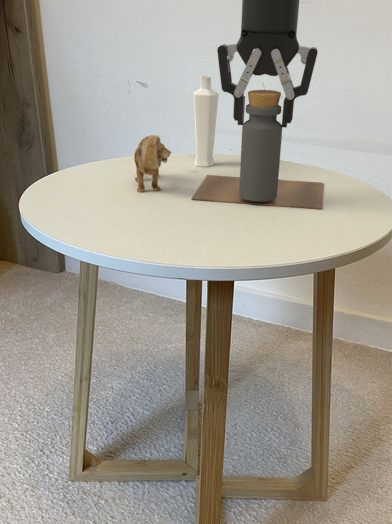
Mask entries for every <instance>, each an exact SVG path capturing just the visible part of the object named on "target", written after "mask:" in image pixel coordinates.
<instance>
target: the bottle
mask: <svg viewBox="0 0 392 524" xmlns="http://www.w3.org/2000/svg"><path fill="white" fill-rule="evenodd" d="M281 95H282V93H281V91H278V90H272V89H253V90H249V91H248V92H247V97H248V104H245V113H246V114H248V120H246V121H244V123H243V125H241V146H240V167H239V177H240V188H239V196H240V197H241V198H242V199H245V200H248V201H255V202H264V201H271V200H274V199H275V198H276V197H277V188H278V180H279V177H280V165H281V163H280V162H281V151H282V139H283V127H282V123H281V122H280V121H278V120H277V119H278V118H277V117H278V116H279V115H281V114H282V106H281V104H280V99H281V97H282V96H281Z"/></svg>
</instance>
